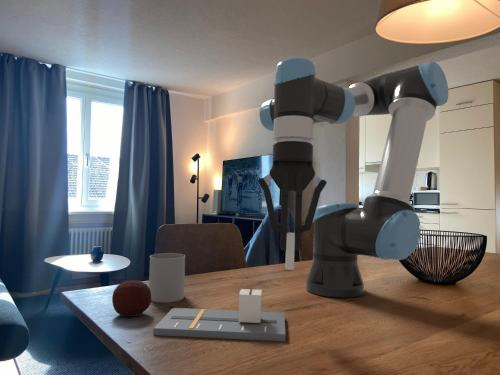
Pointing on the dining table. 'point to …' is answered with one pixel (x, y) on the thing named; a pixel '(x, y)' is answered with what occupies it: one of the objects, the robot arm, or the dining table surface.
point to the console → (220, 325)
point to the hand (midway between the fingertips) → (289, 268)
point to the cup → (167, 277)
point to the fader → (250, 305)
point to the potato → (131, 298)
